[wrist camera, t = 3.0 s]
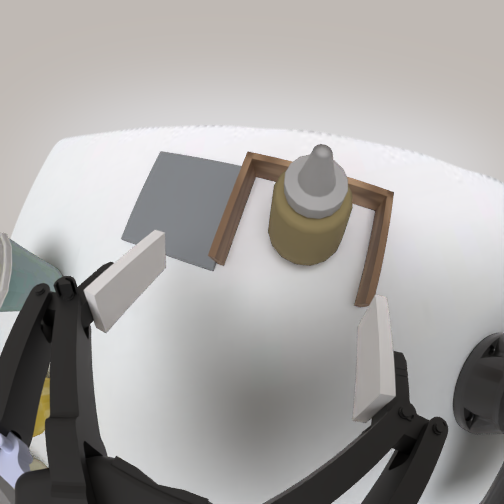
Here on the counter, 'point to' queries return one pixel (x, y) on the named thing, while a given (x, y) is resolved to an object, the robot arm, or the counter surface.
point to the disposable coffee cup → (21, 274)
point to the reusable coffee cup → (3, 493)
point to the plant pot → (43, 409)
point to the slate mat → (183, 205)
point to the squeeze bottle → (310, 208)
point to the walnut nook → (361, 196)
